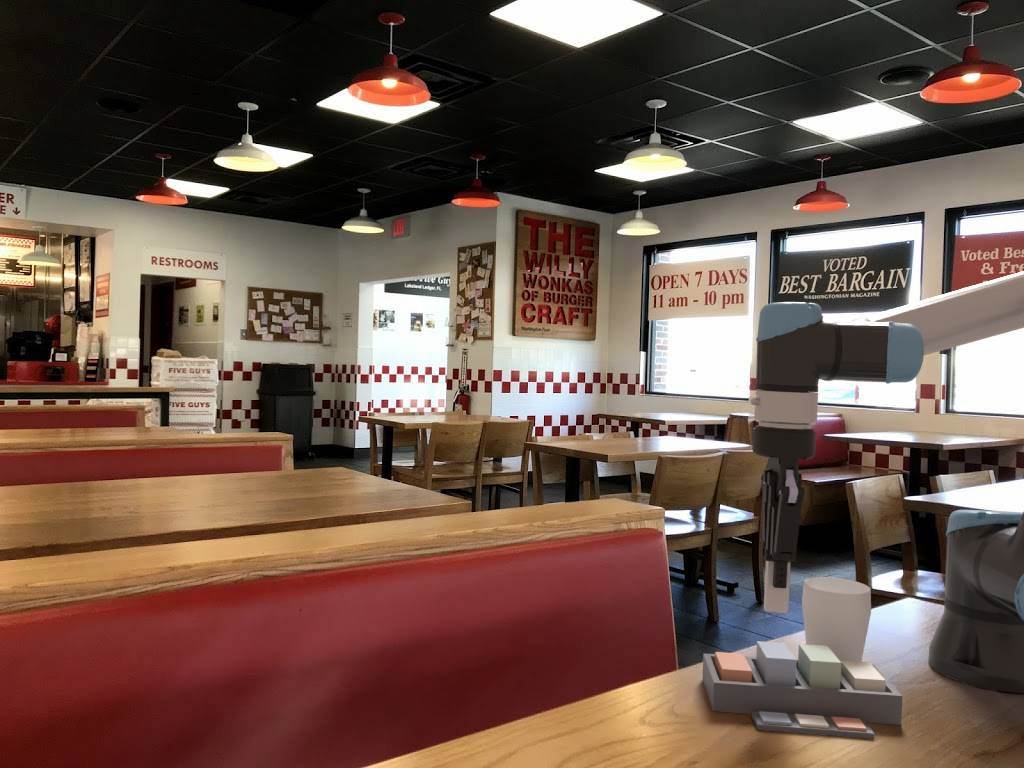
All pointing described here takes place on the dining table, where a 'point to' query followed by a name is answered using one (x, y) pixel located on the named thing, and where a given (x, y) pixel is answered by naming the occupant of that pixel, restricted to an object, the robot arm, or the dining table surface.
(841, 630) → the cup
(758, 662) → the key slate
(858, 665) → the key ivory
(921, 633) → the dining table surface
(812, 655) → the key sage
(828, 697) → the keypad
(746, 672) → the key terracotta
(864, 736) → the strip
